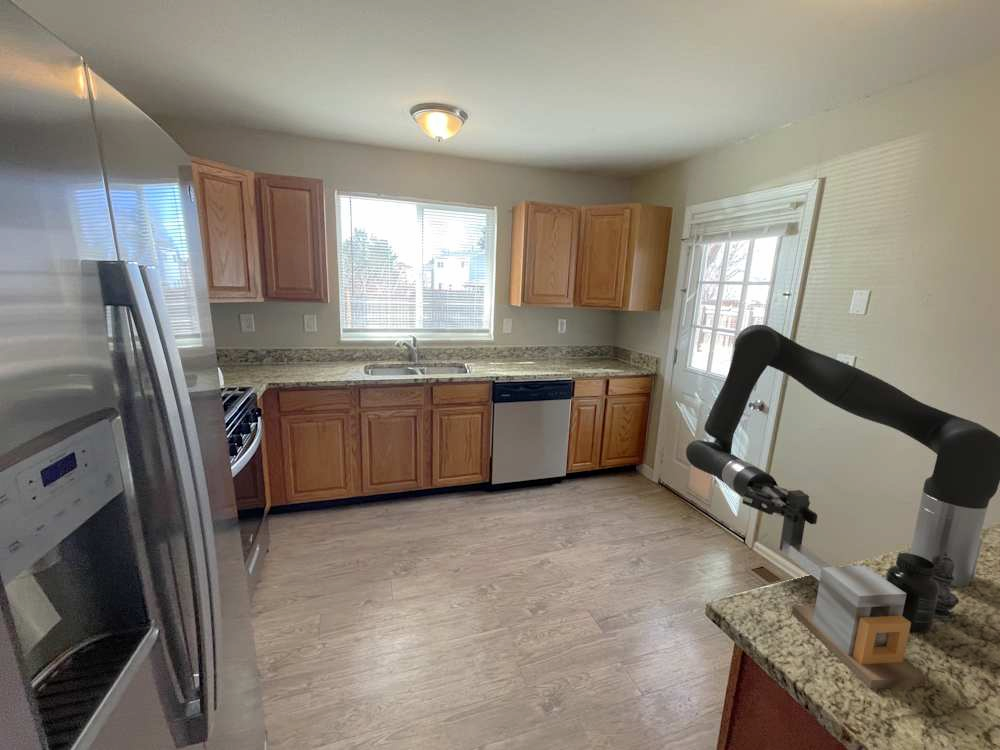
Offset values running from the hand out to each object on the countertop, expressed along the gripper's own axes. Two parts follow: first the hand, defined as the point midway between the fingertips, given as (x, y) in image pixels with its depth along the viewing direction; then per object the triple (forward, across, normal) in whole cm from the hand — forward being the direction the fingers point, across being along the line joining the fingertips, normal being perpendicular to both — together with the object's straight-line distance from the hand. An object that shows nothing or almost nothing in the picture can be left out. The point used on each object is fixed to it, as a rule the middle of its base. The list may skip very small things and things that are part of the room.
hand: (807, 519), depth 80 cm
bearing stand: (+12, 0, +16) cm, 20 cm away
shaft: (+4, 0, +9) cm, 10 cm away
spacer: (+17, 0, +14) cm, 22 cm away
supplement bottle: (+8, +15, +16) cm, 23 cm away
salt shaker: (+6, +23, +16) cm, 29 cm away
